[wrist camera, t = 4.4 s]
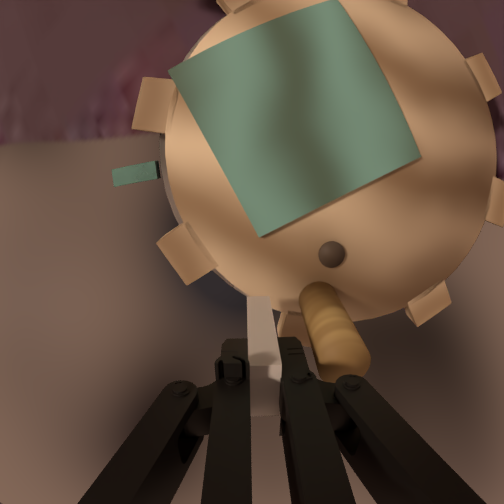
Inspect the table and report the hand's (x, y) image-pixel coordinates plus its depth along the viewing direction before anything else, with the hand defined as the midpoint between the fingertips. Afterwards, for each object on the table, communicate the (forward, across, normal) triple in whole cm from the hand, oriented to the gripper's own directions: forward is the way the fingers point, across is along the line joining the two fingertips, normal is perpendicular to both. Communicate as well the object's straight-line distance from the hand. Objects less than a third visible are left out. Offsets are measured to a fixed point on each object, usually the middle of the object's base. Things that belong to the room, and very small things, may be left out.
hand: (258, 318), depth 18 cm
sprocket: (+4, +6, +10) cm, 12 cm away
